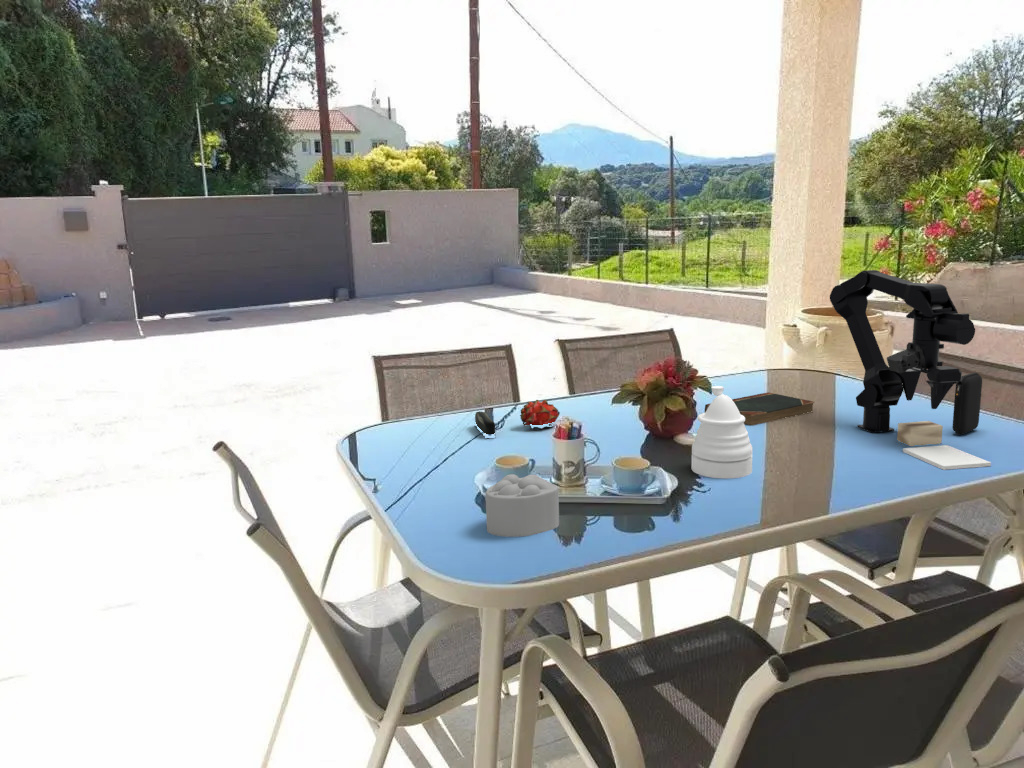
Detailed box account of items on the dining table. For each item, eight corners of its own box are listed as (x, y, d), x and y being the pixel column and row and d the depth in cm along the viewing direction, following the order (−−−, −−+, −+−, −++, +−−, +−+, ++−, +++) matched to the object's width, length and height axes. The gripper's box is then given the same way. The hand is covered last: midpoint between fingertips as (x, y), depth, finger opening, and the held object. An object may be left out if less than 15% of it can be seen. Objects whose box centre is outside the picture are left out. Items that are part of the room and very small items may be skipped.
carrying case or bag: (960, 438, 192) (964, 378, 190) (947, 435, 195) (951, 376, 192) (980, 430, 199) (985, 372, 196) (967, 428, 201) (972, 370, 198)
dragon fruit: (516, 436, 213) (556, 436, 218) (529, 423, 207) (570, 424, 212) (511, 407, 217) (550, 408, 222) (523, 393, 210) (564, 395, 215)
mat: (902, 451, 183) (903, 448, 183) (946, 448, 184) (947, 445, 184) (943, 469, 169) (943, 466, 169) (990, 466, 171) (991, 462, 171)
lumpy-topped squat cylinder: (565, 526, 145) (564, 481, 143) (503, 542, 139) (501, 494, 137) (536, 510, 154) (534, 466, 152) (475, 524, 147) (473, 479, 146)
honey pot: (679, 465, 178) (680, 386, 175) (727, 457, 183) (729, 380, 179) (714, 482, 167) (716, 397, 163) (764, 473, 171) (767, 391, 168)
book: (751, 428, 210) (815, 414, 222) (752, 414, 209) (815, 401, 222) (704, 415, 225) (765, 403, 237) (704, 403, 224) (766, 391, 236)
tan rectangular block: (897, 441, 192) (898, 422, 191) (927, 439, 193) (928, 420, 193) (910, 446, 187) (911, 428, 187) (941, 444, 189) (942, 425, 188)
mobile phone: (496, 421, 205) (481, 407, 219) (485, 422, 204) (470, 408, 218) (497, 439, 206) (481, 425, 220) (486, 441, 205) (471, 426, 219)
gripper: (870, 335, 194) (866, 398, 197) (919, 346, 175) (914, 415, 179) (913, 333, 195) (908, 395, 198) (966, 344, 177) (960, 412, 180)
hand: (921, 404), depth 189 cm, fingers open, 9 cm apart
